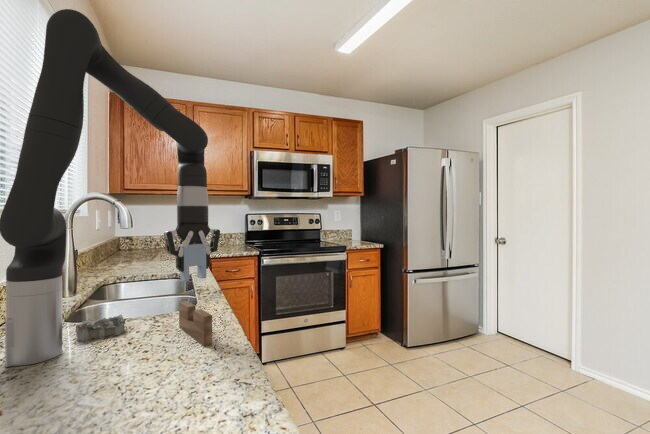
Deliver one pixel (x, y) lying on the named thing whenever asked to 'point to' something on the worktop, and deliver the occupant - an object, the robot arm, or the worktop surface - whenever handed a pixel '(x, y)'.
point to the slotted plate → (195, 323)
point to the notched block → (194, 260)
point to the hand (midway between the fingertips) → (193, 269)
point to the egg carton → (99, 328)
